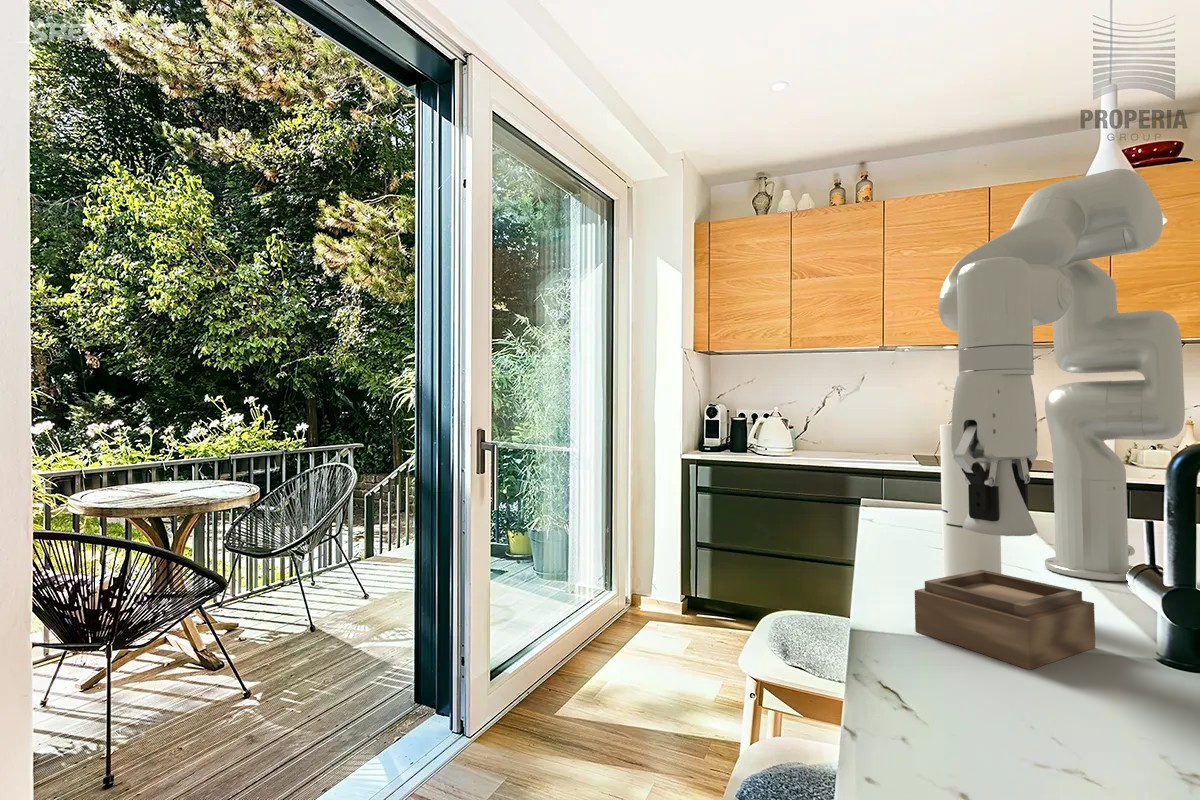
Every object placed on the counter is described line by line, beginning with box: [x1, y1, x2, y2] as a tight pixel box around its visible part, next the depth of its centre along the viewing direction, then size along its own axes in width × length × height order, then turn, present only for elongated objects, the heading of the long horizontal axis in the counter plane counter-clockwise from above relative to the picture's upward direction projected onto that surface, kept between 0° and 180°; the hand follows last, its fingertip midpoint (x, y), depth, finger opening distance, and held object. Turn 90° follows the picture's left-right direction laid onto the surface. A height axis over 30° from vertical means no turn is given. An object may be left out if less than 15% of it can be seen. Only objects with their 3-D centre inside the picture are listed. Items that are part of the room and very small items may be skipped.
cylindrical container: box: [939, 423, 1002, 578], centre depth 88 cm, size 7×7×25 cm
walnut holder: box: [914, 570, 1096, 671], centre depth 73 cm, size 13×13×6 cm
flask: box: [962, 455, 1039, 537], centre depth 73 cm, size 7×7×10 cm
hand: (998, 516), depth 73 cm, fingers closed on flask, 4 cm apart
